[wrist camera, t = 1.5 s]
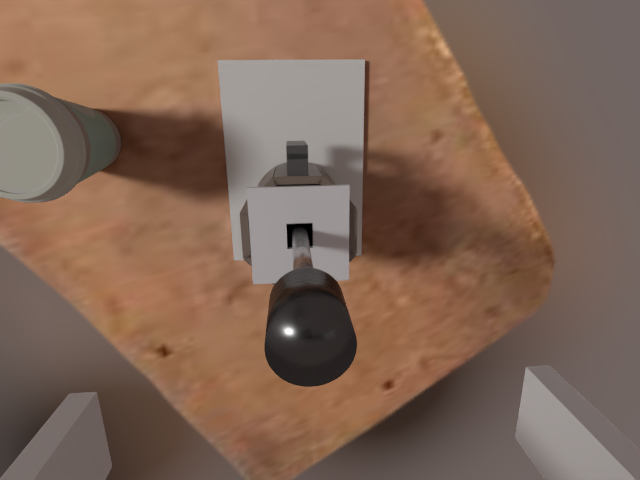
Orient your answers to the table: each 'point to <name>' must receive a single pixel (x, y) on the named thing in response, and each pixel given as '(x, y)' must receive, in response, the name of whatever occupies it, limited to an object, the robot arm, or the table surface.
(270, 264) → the grey french press
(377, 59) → the table surface
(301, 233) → the plunger
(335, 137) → the mat
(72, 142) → the coffee cup
